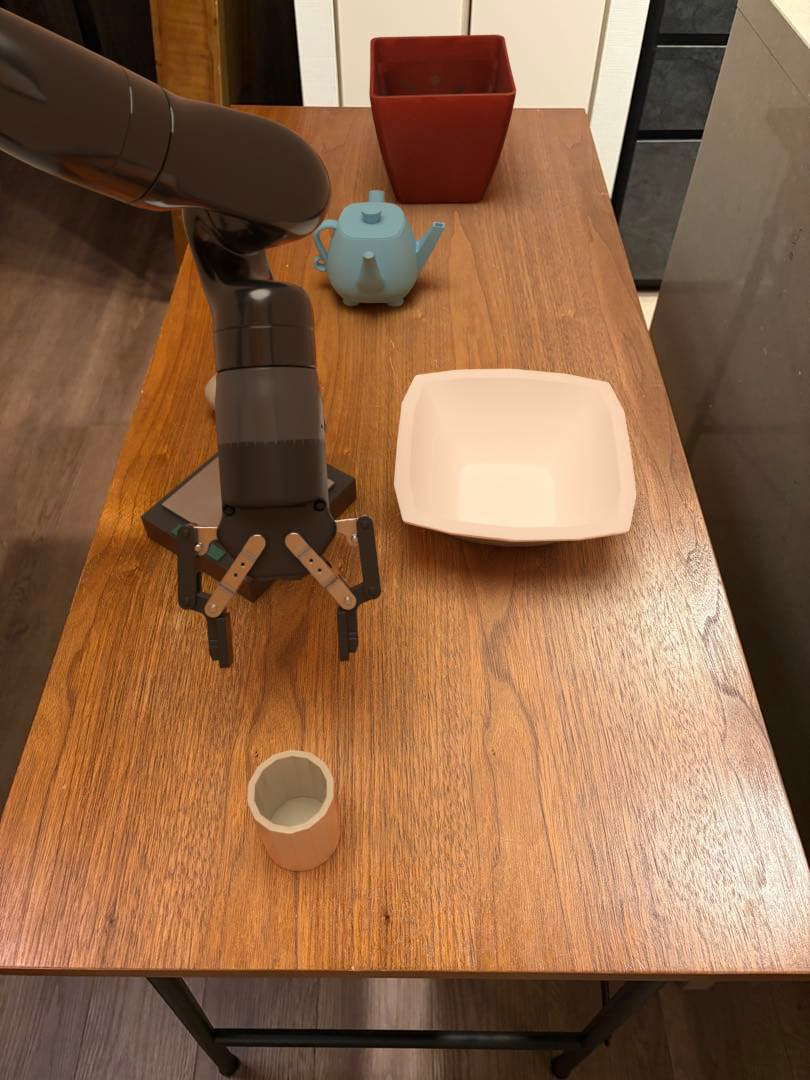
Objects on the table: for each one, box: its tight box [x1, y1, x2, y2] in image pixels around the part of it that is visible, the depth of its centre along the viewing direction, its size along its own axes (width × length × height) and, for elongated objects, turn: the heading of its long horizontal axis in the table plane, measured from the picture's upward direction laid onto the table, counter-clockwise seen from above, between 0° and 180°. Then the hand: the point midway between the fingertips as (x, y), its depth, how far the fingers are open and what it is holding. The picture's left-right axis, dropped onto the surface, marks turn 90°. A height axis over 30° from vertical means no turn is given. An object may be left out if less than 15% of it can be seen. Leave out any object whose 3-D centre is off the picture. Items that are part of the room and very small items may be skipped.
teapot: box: [312, 189, 446, 307], centre depth 106 cm, size 15×14×11 cm
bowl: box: [393, 368, 638, 548], centre depth 83 cm, size 22×23×8 cm
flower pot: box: [368, 34, 517, 204], centre depth 121 cm, size 19×19×17 cm
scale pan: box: [162, 457, 335, 541], centre depth 83 cm, size 12×12×1 cm
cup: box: [246, 749, 342, 872], centre depth 62 cm, size 6×6×8 cm
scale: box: [140, 451, 358, 603], centre depth 84 cm, size 16×14×3 cm
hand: (286, 662), depth 61 cm, fingers open, 8 cm apart
